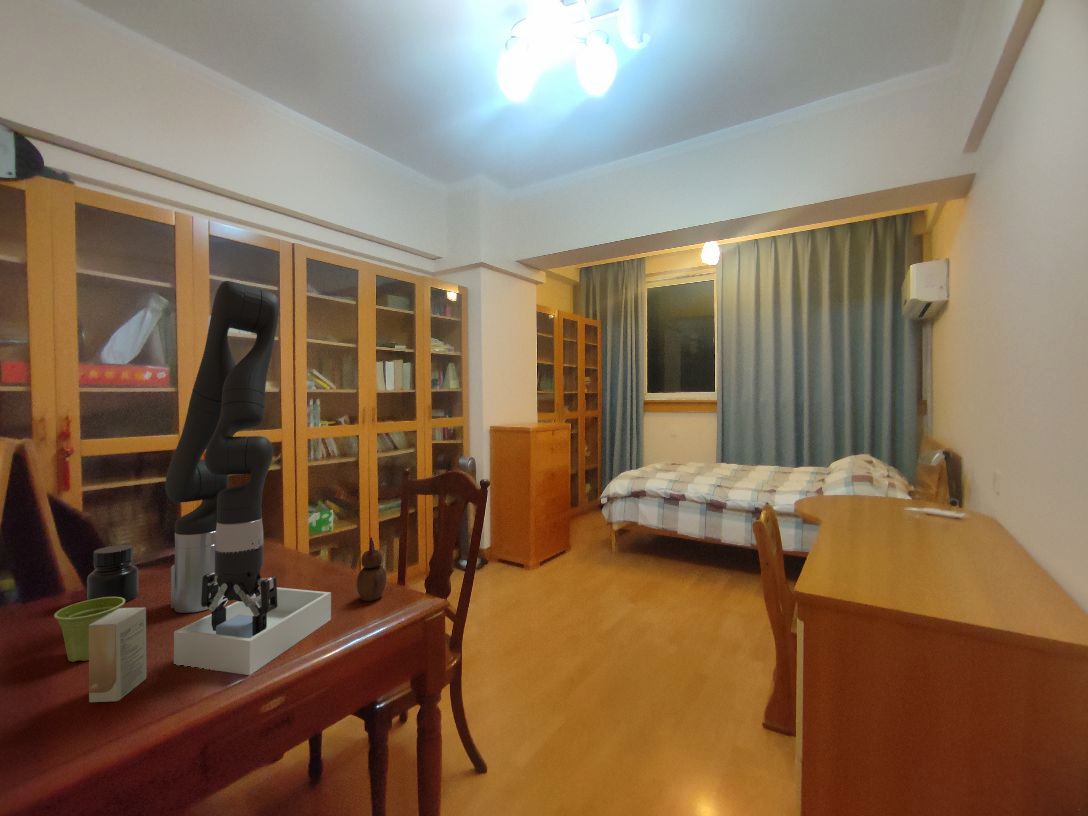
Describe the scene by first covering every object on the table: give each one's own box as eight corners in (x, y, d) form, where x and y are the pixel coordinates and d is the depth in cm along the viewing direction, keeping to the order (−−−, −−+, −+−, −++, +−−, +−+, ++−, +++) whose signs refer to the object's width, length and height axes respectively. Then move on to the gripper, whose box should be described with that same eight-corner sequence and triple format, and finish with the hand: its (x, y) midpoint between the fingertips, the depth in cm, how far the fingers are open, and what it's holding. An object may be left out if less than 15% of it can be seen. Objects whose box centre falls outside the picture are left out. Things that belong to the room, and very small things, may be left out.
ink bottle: (128, 589, 117) (129, 541, 117) (148, 596, 113) (148, 546, 113) (76, 604, 108) (77, 551, 108) (95, 611, 105) (95, 557, 105)
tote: (173, 664, 84) (174, 631, 84) (267, 612, 105) (268, 586, 105) (249, 675, 81) (250, 641, 81) (330, 619, 102) (331, 592, 102)
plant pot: (63, 673, 81) (63, 622, 80) (47, 658, 86) (47, 609, 85) (132, 650, 88) (133, 603, 88) (114, 636, 93) (114, 592, 93)
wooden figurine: (374, 605, 109) (375, 540, 109) (352, 602, 110) (352, 538, 110) (390, 593, 116) (390, 532, 116) (368, 591, 117) (369, 531, 117)
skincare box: (119, 680, 79) (120, 606, 79) (147, 679, 79) (148, 605, 79) (85, 704, 72) (86, 624, 72) (116, 703, 73) (117, 623, 73)
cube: (215, 653, 86) (215, 626, 86) (238, 640, 91) (238, 614, 91) (239, 656, 85) (239, 628, 85) (261, 643, 90) (261, 616, 90)
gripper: (188, 547, 85) (188, 637, 85) (256, 552, 83) (256, 645, 83) (224, 536, 93) (223, 619, 93) (288, 541, 90) (287, 626, 90)
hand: (239, 631), depth 88 cm, fingers open, 8 cm apart
